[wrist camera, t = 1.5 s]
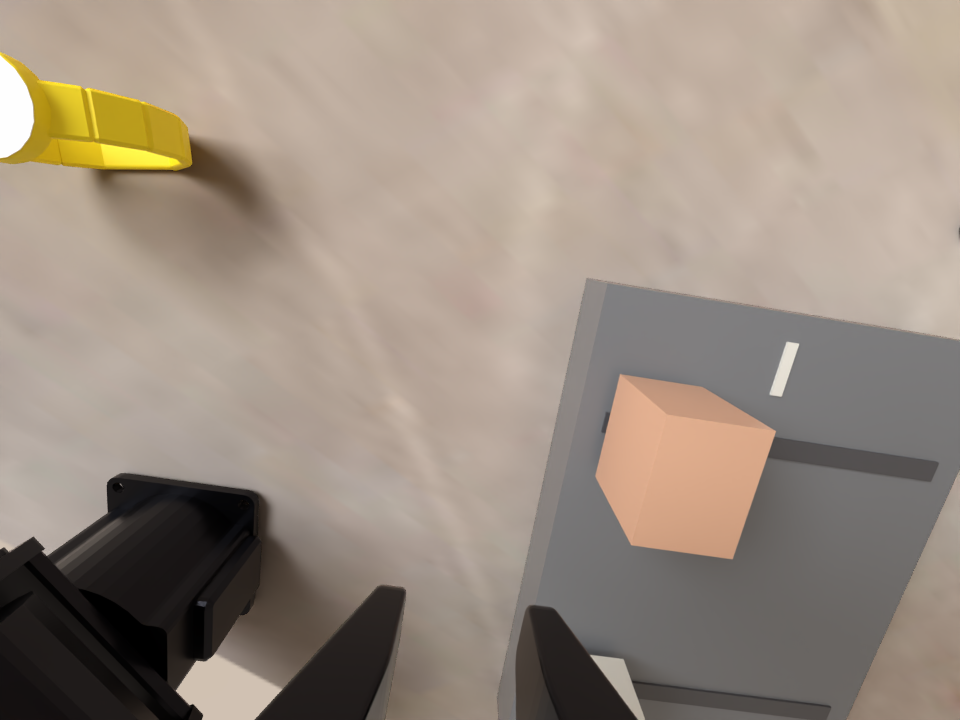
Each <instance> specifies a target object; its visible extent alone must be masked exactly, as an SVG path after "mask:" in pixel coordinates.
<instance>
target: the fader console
mask: <svg viewBox="0 0 960 720" xmlns="http://www.w3.org/2000/svg"><path fill="white" fill-rule="evenodd" d="M620 374H622V375H629V376H635V377H642V378H648V379H655V380H661V381H668V382H674V383H680V384H687V385H693V386H700V387H703V388H705V389H707V390H708V391H710V392H712V393H713V394H715V395H717V396H718V397H720V398H722V399H723V400H725V401H727V402H728V403H730V404H732V405H733V406H735V407H737V408H738V409H740V410H742V411H743V412H745V413H747V414H748V415H750V416H752V417H753V418H755V419H757V420H758V421H760V422H762V423H763V424H765V425H767V426H768V427H770V428H772V429H773V430H775V431H776V433H775V436H774V439H773V442H772V445H771V448H770V451H769V453H768V456H767V459H766V462H765V465H764V468H763V471H762V474H761V477H760V480H759V483H758V486H757V489H756V492H755V495H754V498H753V501H752V504H751V507H750V509H749V512H748V515H747V518H746V521H745V524H744V527H743V530H742V533H741V536H740V539H739V542H738V545H737V548H736V551H735V554H734V557H733V559H727V558H719V557H712V556H705V555H698V554H691V553H683V552H676V551H669V550H662V549H655V548H647V547H640V546H633V545H631V544H630V542H629V540H628V538H627V536H626V534H625V532H624V531H623V529H622V527H621V525H620V523H619V521H618V519H617V517H616V515H615V513H614V511H613V510H612V508H611V506H610V504H609V502H608V500H607V498H606V496H605V494H604V492H603V490H602V488H601V487H600V485H599V483H598V481H597V479H596V477H595V475H596V471H597V467H598V463H599V459H600V455H601V450H602V446H603V442H604V438H605V434H606V430H607V426H608V422H609V418H610V413H611V409H612V405H613V401H614V397H615V393H616V389H617V385H618V381H619V376H620ZM959 469H960V340H957V339H952V338H946V337H941V336H935V335H930V334H924V333H917V332H911V331H905V330H899V329H893V328H887V327H881V326H875V325H869V324H863V323H857V322H850V321H844V320H838V319H832V318H826V317H820V316H814V315H808V314H802V313H796V312H790V311H784V310H777V309H771V308H765V307H759V306H753V305H747V304H741V303H735V302H729V301H723V300H717V299H710V298H704V297H698V296H692V295H686V294H680V293H674V292H668V291H662V290H656V289H650V288H643V287H637V286H631V285H625V284H619V283H613V282H607V281H601V280H595V279H589V278H587V280H586V284H585V289H584V294H583V298H582V303H581V308H580V312H579V317H578V322H577V326H576V331H575V336H574V340H573V345H572V350H571V354H570V359H569V364H568V368H567V373H566V378H565V383H564V387H563V392H562V397H561V401H560V406H559V411H558V415H557V420H556V425H555V429H554V434H553V439H552V443H551V448H550V453H549V457H548V462H547V467H546V471H545V476H544V481H543V485H542V490H541V495H540V500H539V504H538V509H537V514H536V518H535V523H534V528H533V532H532V537H531V542H530V546H529V551H528V556H527V560H526V565H525V570H524V574H523V579H522V584H521V588H520V593H519V598H518V602H517V607H516V612H515V616H514V621H513V626H512V631H511V635H510V640H509V645H508V649H507V654H506V659H505V663H504V668H503V673H502V677H501V682H500V687H499V691H498V696H497V704H498V720H516V683H515V660H516V650H517V644H518V640H519V635H520V631H521V626H522V622H523V617H524V613H525V610H526V608H527V606H529V605H540V606H547V607H552V608H554V609H555V610H556V611H557V612H558V613H559V614H560V616H561V617H562V618H563V620H564V621H565V622H566V624H567V625H568V626H569V628H570V629H571V630H572V632H573V633H574V634H575V636H576V637H577V638H578V640H579V641H580V642H581V644H582V645H583V646H584V648H585V649H586V650H587V652H588V653H589V654H590V655H596V656H604V657H612V658H619V659H624V662H625V665H626V667H627V670H628V673H629V676H630V679H631V681H632V684H633V687H634V690H635V693H636V695H637V698H638V701H639V704H640V707H641V709H642V712H643V715H644V718H645V720H846V719H847V717H848V714H849V712H850V710H851V708H852V706H853V703H854V701H855V699H856V697H857V695H858V692H859V690H860V688H861V686H862V683H863V681H864V679H865V677H866V675H867V672H868V670H869V668H870V666H871V664H872V661H873V659H874V657H875V655H876V653H877V650H878V648H879V646H880V644H881V642H882V639H883V637H884V635H885V633H886V631H887V628H888V626H889V624H890V622H891V620H892V617H893V615H894V613H895V611H896V608H897V606H898V604H899V602H900V600H901V597H902V595H903V593H904V591H905V589H906V586H907V584H908V582H909V580H910V578H911V575H912V573H913V571H914V569H915V567H916V564H917V562H918V560H919V558H920V556H921V553H922V551H923V549H924V547H925V545H926V542H927V540H928V538H929V536H930V533H931V531H932V529H933V527H934V525H935V522H936V520H937V518H938V516H939V514H940V511H941V509H942V507H943V505H944V503H945V500H946V498H947V496H948V494H949V492H950V489H951V487H952V485H953V483H954V481H955V478H956V476H957V474H958V472H959Z"/></svg>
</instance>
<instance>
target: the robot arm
mask: <svg viewBox="0 0 960 720" xmlns="http://www.w3.org/2000/svg"><path fill="white" fill-rule="evenodd" d="M120 483H121V484H122V485H123V486H124V488H123V487H122V486H121V485H120ZM242 500H245V501H247V502H248V503H249V505H246V504H244V503H243V501H242ZM107 504H108V513H107V514H106V515H104V516H103V517H102V518H100V519H99V520H97V521H96V522H94V523H93V524H92V525H90V526H89V527H87V528H86V529H85V530H83V531H82V532H80V533H79V534H78V535H76V536H75V537H73V538H72V539H70V540H69V541H68V542H66V543H65V544H63V545H62V546H61V547H59V548H58V549H56V550H55V551H54V552H52V553H51V554H49V555H48V556H46V555H45V554H44V553H43V552H42V550H44V549H45V548H44V547H43V546H42V545H41V544H40V543H39V542H38V541H37V540H36V539H35V538H34V537H32V538H30V539H29V540H27V541H25V542H24V543H22V544H20V545H19V546H17V547H15V548H14V549H12V550H11V551H9V552H8V551H7V550H6V549H5V548H2V549H0V720H202V717H203V714H202V713H201V712H200V711H199V710H198V709H197V708H196V707H195V706H194V705H193V704H192V705H189V704H188V703H187V702H186V701H185V700H184V699H183V698H182V697H181V696H180V695H179V694H178V693H177V692H176V690H177V688H178V686H179V685H180V684H181V682H182V681H183V679H184V678H185V676H186V675H187V674H188V672H189V671H190V669H191V667H192V666H193V665H194V663H195V662H196V661H207V660H208V659H209V658H211V657H212V656H213V655H214V654H215V652H216V651H217V649H218V647H219V646H220V644H221V643H222V641H223V640H224V638H225V637H226V635H227V634H228V632H229V631H230V629H231V628H232V626H233V625H234V623H235V621H236V620H237V618H238V617H239V615H245V614H247V613H248V612H249V610H250V609H251V607H252V606H253V603H254V592H255V591H256V589H257V588H258V586H259V582H260V562H261V543H262V542H261V540H260V538H259V537H258V536H257V530H258V510H259V499H258V497H257V495H256V494H255V493H254V492H252V491H249V490H242V489H235V488H228V487H220V486H213V485H206V484H199V483H192V482H184V481H177V480H170V479H163V478H156V477H148V476H141V475H134V474H127V473H120V474H118V475H116V476H115V477H113V478H111V479H110V480H109V481H108V482H107ZM405 600H406V590H405V589H404V588H403V587H396V586H389V585H380V586H378V587H377V588H376V589H375V590H374V591H373V592H372V593H371V594H370V595H369V596H368V597H367V598H366V600H365V601H364V602H363V603H362V604H361V605H360V606H359V607H358V608H357V609H356V610H355V611H354V613H353V614H352V615H351V616H350V617H349V618H348V619H347V620H346V621H345V622H344V623H343V624H342V626H341V627H340V628H339V629H338V630H337V631H336V632H335V633H334V634H333V635H332V636H331V637H330V639H329V640H328V641H327V642H326V643H325V644H324V645H323V646H322V647H321V648H320V649H319V650H318V652H317V653H316V654H315V655H314V656H313V657H312V658H311V659H310V660H309V661H308V662H307V663H306V665H305V666H304V667H303V668H302V669H301V670H300V671H299V672H298V673H297V674H296V675H295V677H294V678H293V679H292V680H291V681H290V682H289V683H288V684H287V685H286V686H285V687H284V688H283V690H282V691H281V692H280V693H279V694H278V695H277V696H276V697H275V699H273V700H272V701H271V703H270V704H269V705H268V706H267V707H266V708H265V709H264V710H263V711H262V712H261V713H260V715H259V716H258V717H257V718H256V719H255V720H385V717H386V711H387V706H388V701H389V695H390V690H391V684H392V679H393V674H394V668H395V663H396V658H397V652H398V647H399V641H400V634H401V628H402V621H403V614H404V607H405ZM515 683H516V720H638V719H637V717H636V716H635V715H634V713H633V712H632V711H631V709H630V708H629V707H628V705H627V704H626V703H625V701H624V700H623V699H622V697H621V696H620V695H619V693H618V692H617V691H616V689H615V688H614V687H613V685H612V684H611V683H610V681H609V680H608V679H607V677H606V676H605V675H604V673H603V672H602V671H601V669H600V668H599V667H598V665H597V664H596V663H595V661H594V660H593V659H592V657H591V656H590V654H589V653H588V652H587V650H586V649H585V648H584V646H583V645H582V644H581V642H580V641H579V640H578V638H577V637H576V636H575V634H574V633H573V632H572V630H571V629H570V628H569V626H568V625H567V624H566V622H565V621H564V620H563V618H562V617H561V616H560V614H559V613H558V612H557V611H556V610H555V609H554V608H552V607H547V606H540V605H529V606H527V608H526V610H525V613H524V617H523V622H522V626H521V631H520V635H519V640H518V644H517V650H516V660H515Z"/></svg>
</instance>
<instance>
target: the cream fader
mask: <svg viewBox="0 0 960 720" xmlns="http://www.w3.org/2000/svg"><path fill="white" fill-rule="evenodd" d="M590 656H591V657H592V659H593V660H594V661H595V663H596V664H597V665H598V667H599V668H600V669H601V671H602V672H603V673H604V675H605V676H606V677H607V679H608V680H609V681H610V683H611V684H612V685H613V687H614V688H615V689H616V691H617V692H618V693H619V695H620V696H621V697H622V699H623V700H624V701H625V703H626V704H627V705H628V707H629V708H630V709H631V711H632V712H633V713H634V715H635V716H636V717H637V719H638V720H645V718H644V715H643V712H642V709H641V707H640V704H639V701H638V698H637V695H636V693H635V690H634V687H633V684H632V681H631V679H630V676H629V673H628V670H627V667H626V665H625V662H624V659H619V658H612V657H604V656H596V655H590Z"/></svg>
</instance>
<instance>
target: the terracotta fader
mask: <svg viewBox="0 0 960 720" xmlns="http://www.w3.org/2000/svg"><path fill="white" fill-rule="evenodd" d="M775 433H776V431H775V430H773V429H772V428H770V427H768V426H767V425H765V424H763V423H762V422H760V421H758V420H757V419H755V418H753V417H752V416H750V415H748V414H747V413H745V412H743V411H742V410H740V409H738V408H737V407H735V406H733V405H732V404H730V403H728V402H727V401H725V400H723V399H722V398H720V397H718V396H717V395H715V394H713V393H712V392H710V391H708V390H707V389H705V388H703V387H700V386H693V385H687V384H680V383H674V382H668V381H661V380H655V379H648V378H642V377H635V376H629V375H622V374H620V376H619V381H618V385H617V389H616V393H615V397H614V401H613V405H612V409H611V413H610V418H609V422H608V426H607V430H606V434H605V438H604V442H603V446H602V450H601V455H600V459H599V463H598V467H597V471H596V475H595V477H596V479H597V481H598V483H599V485H600V487H601V488H602V490H603V492H604V494H605V496H606V498H607V500H608V502H609V504H610V506H611V508H612V510H613V511H614V513H615V515H616V517H617V519H618V521H619V523H620V525H621V527H622V529H623V531H624V532H625V534H626V536H627V538H628V540H629V542H630V544H631V545H633V546H640V547H647V548H655V549H662V550H669V551H676V552H683V553H691V554H698V555H705V556H712V557H719V558H727V559H733V557H734V554H735V551H736V548H737V545H738V542H739V539H740V536H741V533H742V530H743V527H744V524H745V521H746V518H747V515H748V512H749V509H750V507H751V504H752V501H753V498H754V495H755V492H756V489H757V486H758V483H759V480H760V477H761V474H762V471H763V468H764V465H765V462H766V459H767V456H768V453H769V451H770V448H771V445H772V442H773V439H774V436H775Z"/></svg>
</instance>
